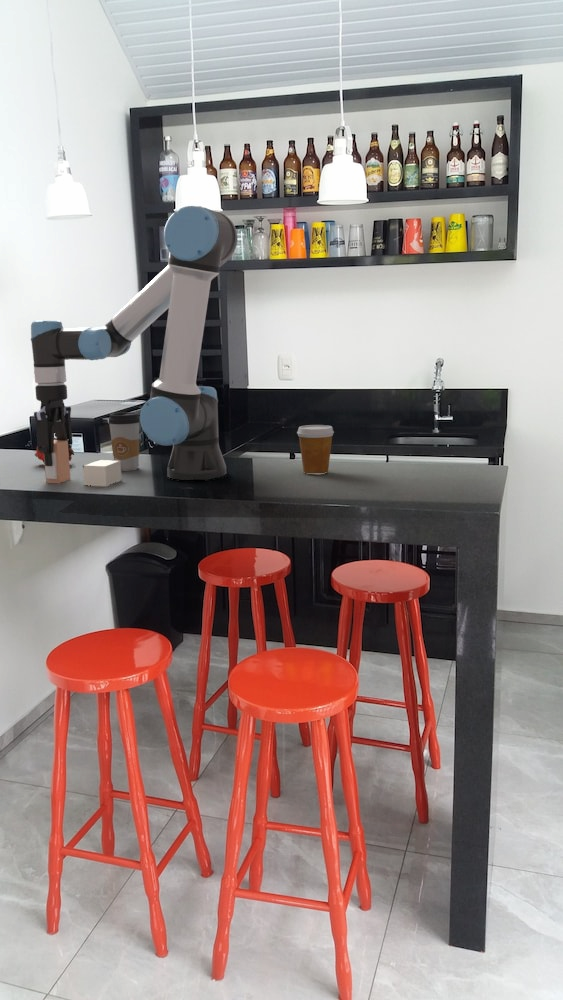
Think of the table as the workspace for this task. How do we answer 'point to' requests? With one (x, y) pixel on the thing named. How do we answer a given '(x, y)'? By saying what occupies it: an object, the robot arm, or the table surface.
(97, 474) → the cream white block
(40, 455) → the dragon fruit
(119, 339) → the robot arm
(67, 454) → the salmon orange rectangular block
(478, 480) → the table surface
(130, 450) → the coffee cup
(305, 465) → the disposable coffee cup
